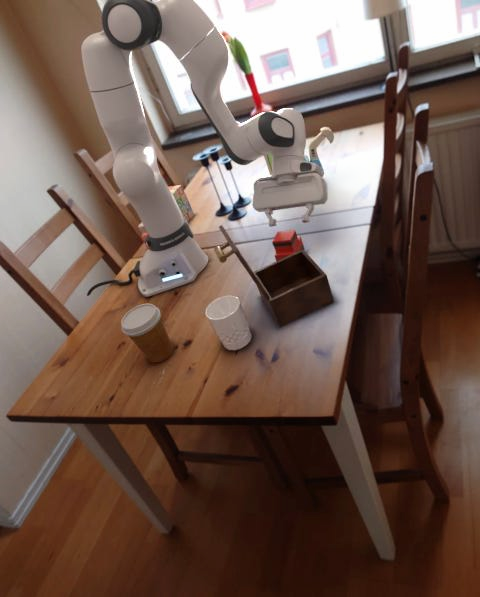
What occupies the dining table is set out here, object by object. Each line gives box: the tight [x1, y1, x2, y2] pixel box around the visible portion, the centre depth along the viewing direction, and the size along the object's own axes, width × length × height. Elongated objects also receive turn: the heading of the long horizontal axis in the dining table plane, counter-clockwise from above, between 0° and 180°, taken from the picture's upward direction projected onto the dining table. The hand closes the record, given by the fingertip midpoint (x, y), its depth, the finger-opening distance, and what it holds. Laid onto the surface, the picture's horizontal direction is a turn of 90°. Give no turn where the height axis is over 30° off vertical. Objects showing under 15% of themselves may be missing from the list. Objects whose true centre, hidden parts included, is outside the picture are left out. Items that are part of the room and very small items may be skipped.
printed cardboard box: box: [137, 184, 196, 235], centre depth 161 cm, size 21×6×12 cm, turn 152°
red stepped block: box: [271, 229, 306, 262], centre depth 123 cm, size 8×5×8 cm, turn 157°
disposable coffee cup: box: [120, 302, 174, 363], centre depth 110 cm, size 10×10×12 cm
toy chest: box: [253, 249, 335, 328], centre depth 109 cm, size 14×14×8 cm
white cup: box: [205, 295, 253, 351], centre depth 104 cm, size 8×8×10 cm
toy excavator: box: [305, 126, 335, 172], centre depth 150 cm, size 9×17×17 cm, turn 89°
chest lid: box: [213, 224, 270, 301], centre depth 103 cm, size 14×14×4 cm
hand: (288, 224), depth 124 cm, fingers open, 8 cm apart
